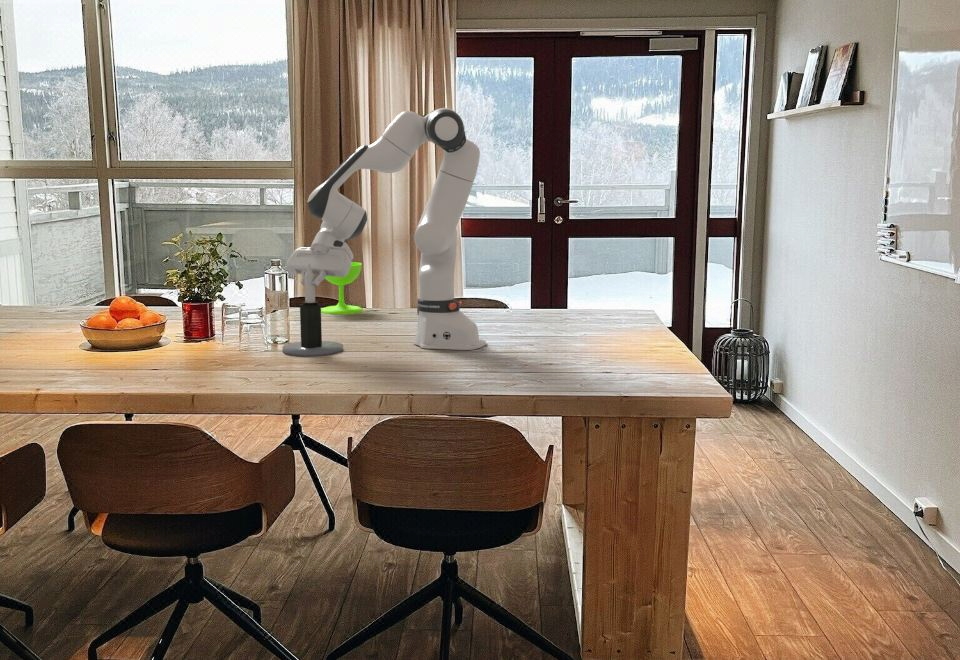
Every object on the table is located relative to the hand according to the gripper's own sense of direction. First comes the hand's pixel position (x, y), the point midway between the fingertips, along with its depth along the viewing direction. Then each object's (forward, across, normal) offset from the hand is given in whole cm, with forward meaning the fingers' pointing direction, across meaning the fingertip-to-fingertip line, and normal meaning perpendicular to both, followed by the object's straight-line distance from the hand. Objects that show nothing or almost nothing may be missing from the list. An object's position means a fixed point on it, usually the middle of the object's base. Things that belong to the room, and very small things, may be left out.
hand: (309, 284), depth 275 cm
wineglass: (-35, -30, +64) cm, 78 cm away
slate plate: (+14, 0, +15) cm, 20 cm away
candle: (+13, 0, +14) cm, 19 cm away
